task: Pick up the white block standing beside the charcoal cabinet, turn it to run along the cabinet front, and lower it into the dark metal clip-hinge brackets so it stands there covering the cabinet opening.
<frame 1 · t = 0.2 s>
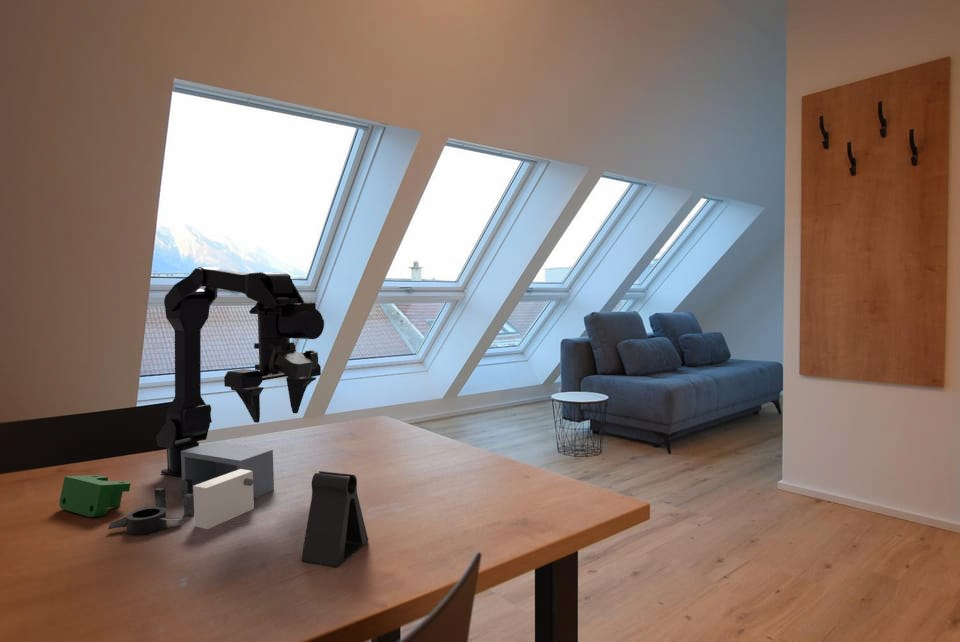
hand: (276, 417, 116), 15 cm above the table, fingers open, 9 cm apart
cabinet: (228, 490, 117), on the table
phone stand: (336, 553, 90), on the table
dark grey tabbed ring: (147, 531, 99), on the table
clip brackets: (188, 505, 109), on the table
white block: (225, 517, 104), on the table
clamp: (96, 510, 109), on the table
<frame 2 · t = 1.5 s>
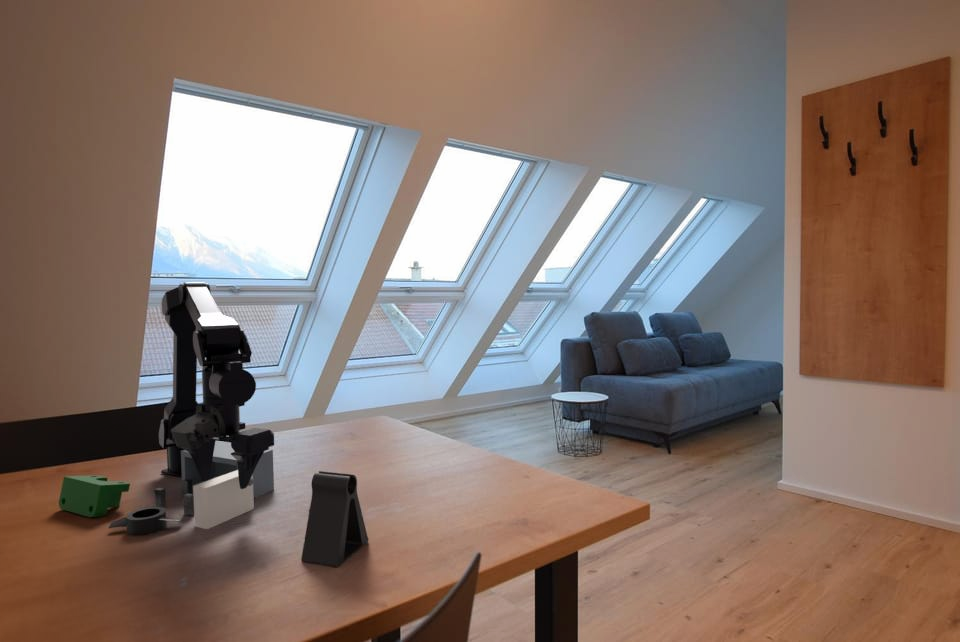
hand: (224, 484, 104), 6 cm above the table, fingers open, 9 cm apart
nothing on the table moved.
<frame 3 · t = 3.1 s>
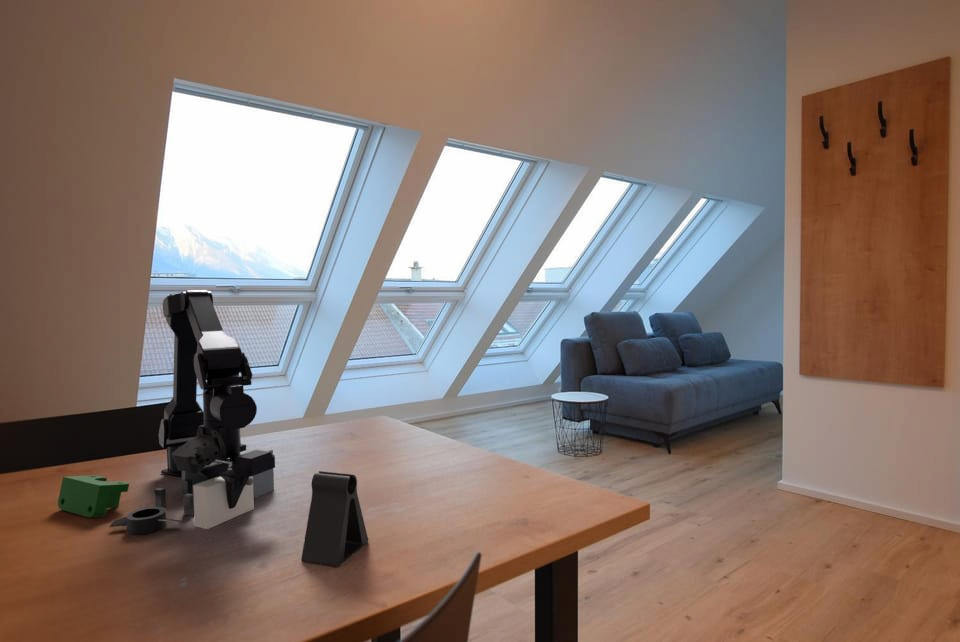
hand: (225, 506, 104), 2 cm above the table, fingers closed on white block, 3 cm apart
white block: (225, 517, 104), on the table, touching gripper
everything else where it was.
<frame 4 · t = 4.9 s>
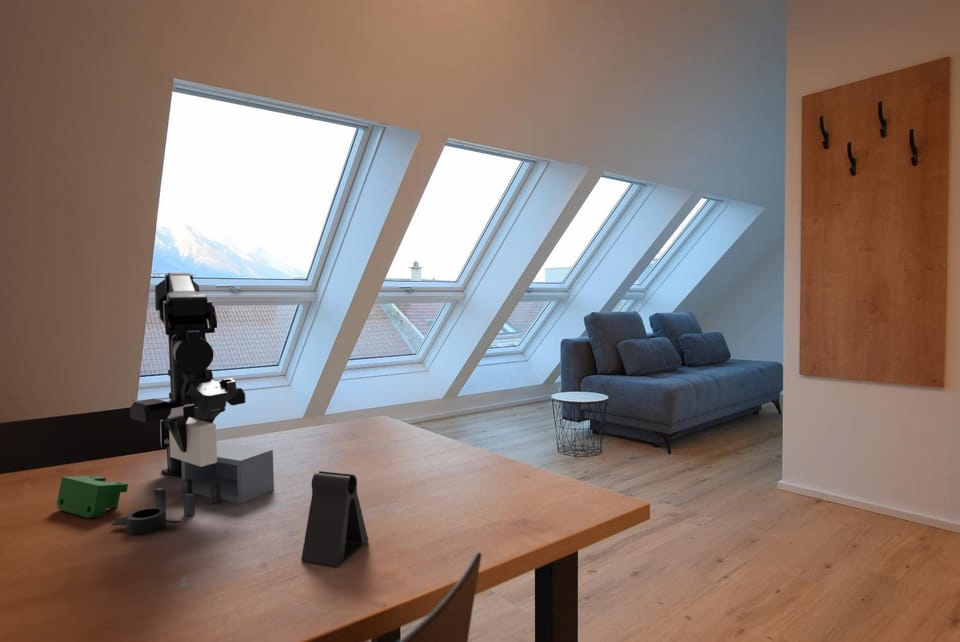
hand: (192, 449, 108), 11 cm above the table, fingers closed on white block, 3 cm apart
white block: (193, 459, 108), point 9 cm above the table, touching gripper
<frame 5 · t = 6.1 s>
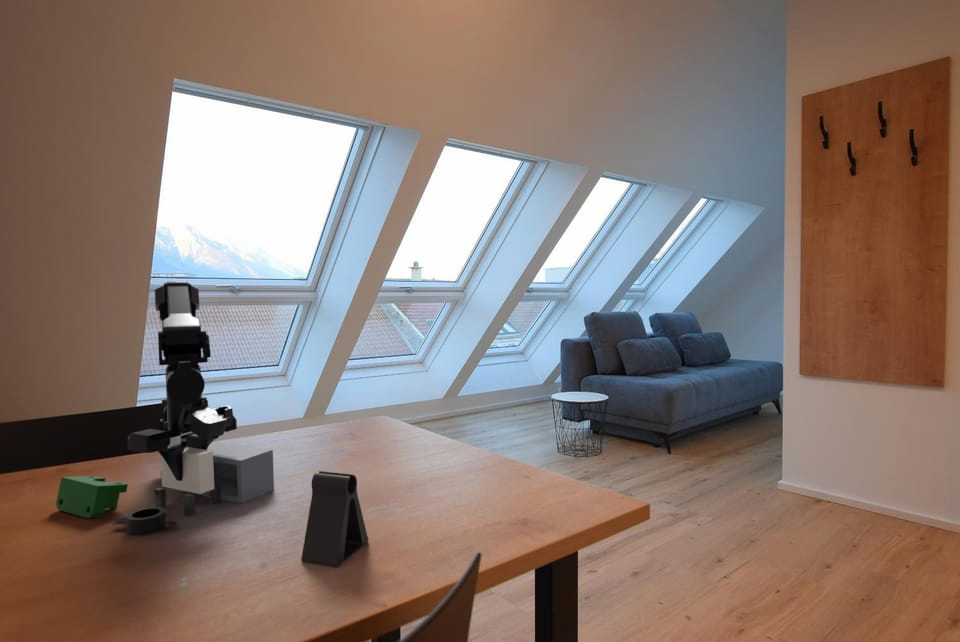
hand: (187, 477, 109), 5 cm above the table, fingers closed on white block, 3 cm apart
white block: (188, 487, 109), point 3 cm above the table, touching gripper
when the fingers open (3 cm above the table, at t = 7.1 s): white block drops 2 cm, on the table.
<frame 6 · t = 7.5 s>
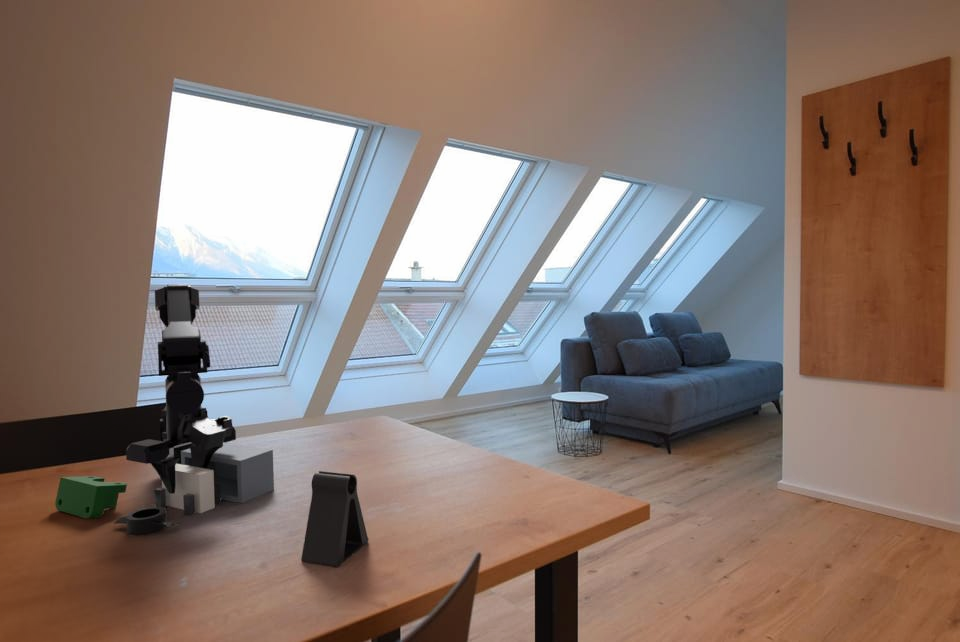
hand: (185, 488, 109), 3 cm above the table, fingers open, 5 cm apart
white block: (188, 506, 109), on the table
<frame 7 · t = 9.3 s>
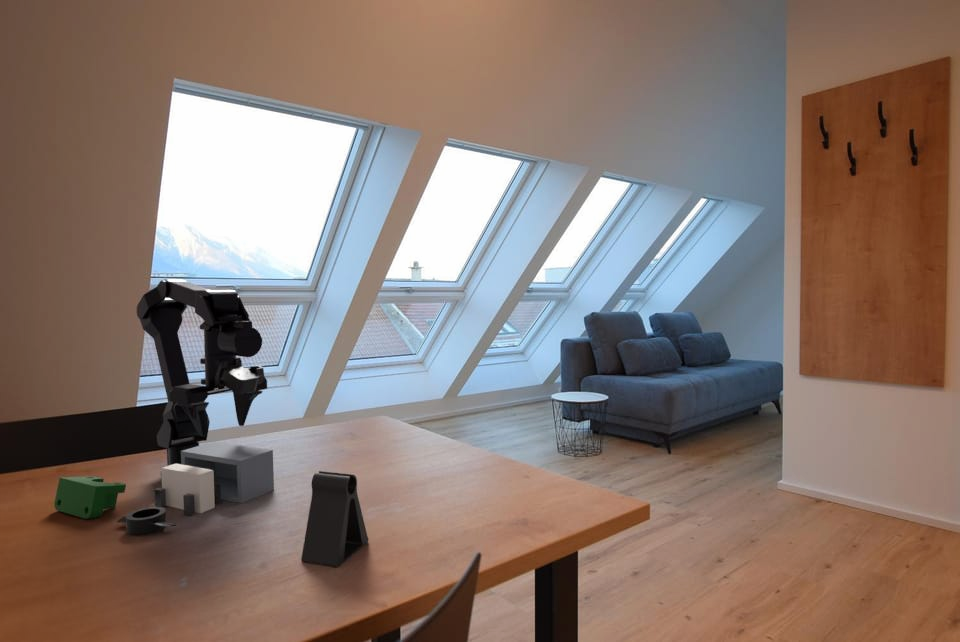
hand: (222, 430, 119), 11 cm above the table, fingers open, 9 cm apart
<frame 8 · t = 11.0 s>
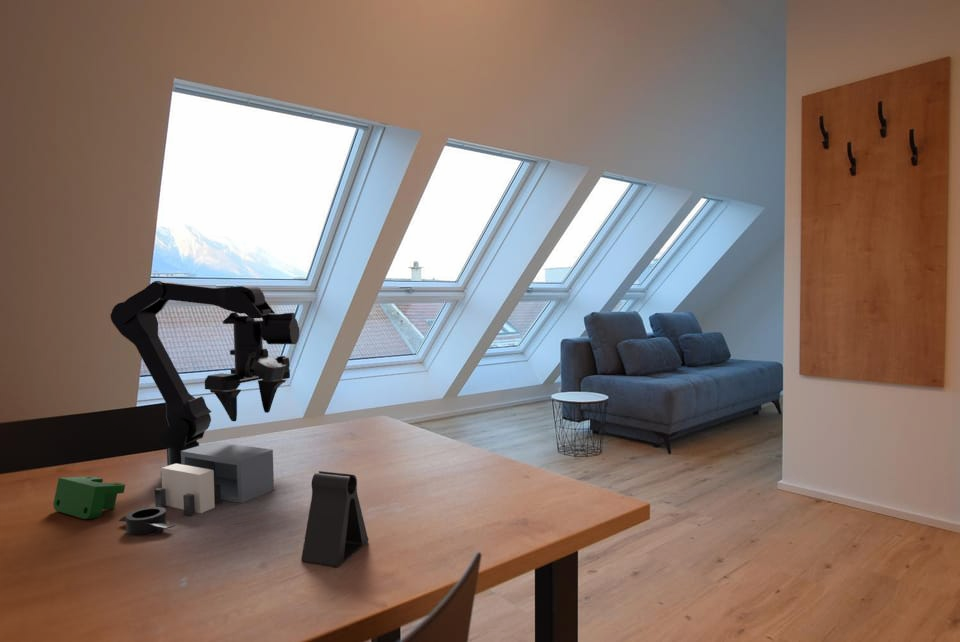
hand: (250, 416, 129), 12 cm above the table, fingers open, 9 cm apart
at the end: white block 0.0 cm from the target spot, on the table; white block tilted 0°; the gripper is holding nothing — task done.
